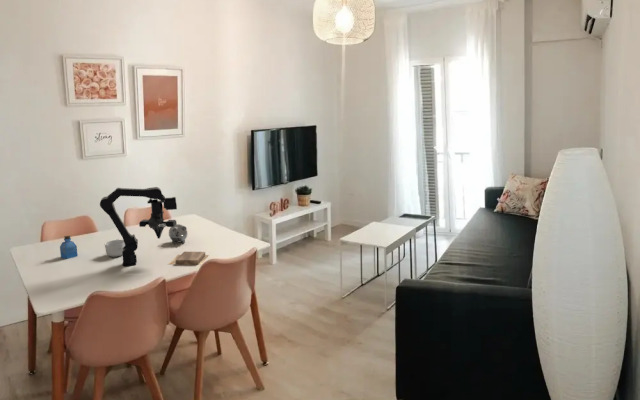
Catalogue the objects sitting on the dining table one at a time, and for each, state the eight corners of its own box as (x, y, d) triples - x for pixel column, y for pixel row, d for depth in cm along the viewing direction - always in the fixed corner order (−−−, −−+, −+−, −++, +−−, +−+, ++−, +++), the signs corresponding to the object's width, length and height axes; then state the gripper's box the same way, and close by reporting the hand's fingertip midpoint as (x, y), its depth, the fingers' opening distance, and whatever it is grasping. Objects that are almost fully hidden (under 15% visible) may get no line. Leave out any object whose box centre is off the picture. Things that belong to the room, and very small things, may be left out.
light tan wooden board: (168, 265, 263) (167, 264, 263) (178, 255, 279) (178, 254, 279) (201, 265, 262) (200, 264, 262) (209, 255, 279) (209, 255, 279)
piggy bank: (172, 247, 295) (171, 228, 293) (166, 241, 308) (165, 223, 306) (190, 244, 301) (190, 226, 298) (184, 238, 313) (183, 221, 311)
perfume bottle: (77, 256, 277) (75, 235, 275) (67, 259, 272) (64, 238, 270) (71, 254, 280) (69, 234, 278) (60, 257, 275) (58, 236, 273)
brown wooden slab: (175, 259, 262) (197, 260, 262) (184, 251, 277) (205, 251, 276) (175, 264, 262) (197, 264, 262) (184, 255, 277) (205, 256, 277)
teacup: (121, 258, 274) (120, 244, 272) (102, 258, 274) (100, 244, 272) (131, 251, 287) (130, 237, 286) (112, 250, 287) (111, 237, 286)
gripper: (134, 213, 256) (136, 242, 259) (169, 214, 255) (170, 242, 258) (142, 209, 267) (144, 236, 270) (176, 209, 266) (177, 237, 269)
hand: (159, 238), depth 267 cm, fingers closed
